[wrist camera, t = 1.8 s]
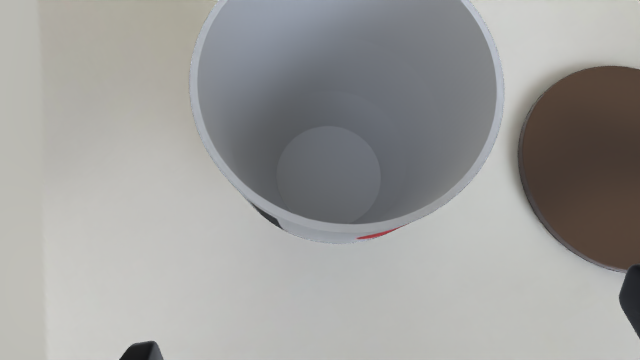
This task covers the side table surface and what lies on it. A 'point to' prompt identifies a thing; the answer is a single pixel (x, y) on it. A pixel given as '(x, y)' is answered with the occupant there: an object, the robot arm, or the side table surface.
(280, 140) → the cup
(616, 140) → the coaster
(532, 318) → the side table surface
